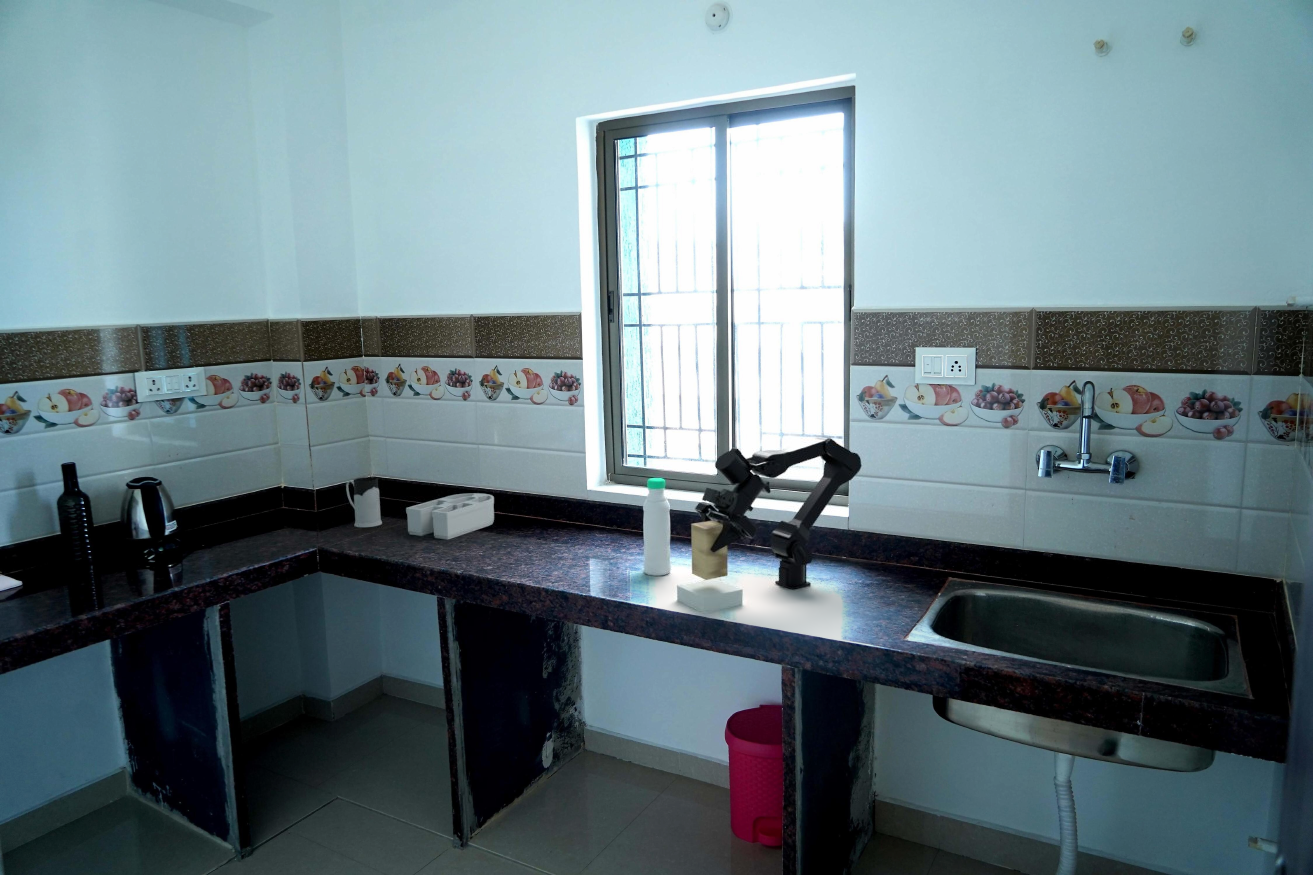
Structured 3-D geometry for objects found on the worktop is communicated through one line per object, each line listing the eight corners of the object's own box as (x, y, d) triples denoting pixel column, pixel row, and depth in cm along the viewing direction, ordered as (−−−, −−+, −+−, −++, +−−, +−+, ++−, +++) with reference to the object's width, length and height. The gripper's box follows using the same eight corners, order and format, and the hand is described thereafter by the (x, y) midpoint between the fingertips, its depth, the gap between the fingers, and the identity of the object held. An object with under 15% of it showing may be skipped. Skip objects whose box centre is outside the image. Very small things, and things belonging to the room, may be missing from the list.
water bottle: (672, 575, 228) (672, 480, 225) (646, 577, 227) (644, 482, 224) (668, 567, 235) (667, 476, 232) (642, 569, 234) (640, 477, 231)
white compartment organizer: (406, 535, 275) (405, 508, 274) (465, 516, 300) (464, 491, 298) (448, 540, 267) (446, 513, 266) (505, 521, 292) (504, 495, 291)
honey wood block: (713, 569, 210) (712, 520, 209) (727, 575, 205) (727, 525, 203) (691, 573, 207) (691, 523, 206) (705, 579, 202) (705, 529, 200)
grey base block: (714, 593, 215) (714, 577, 214) (742, 605, 205) (742, 589, 205) (677, 601, 209) (677, 585, 208) (703, 614, 200) (703, 597, 199)
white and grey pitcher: (366, 528, 283) (363, 482, 281) (337, 523, 291) (335, 478, 289) (387, 522, 290) (385, 478, 288) (359, 517, 298) (357, 474, 296)
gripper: (701, 469, 213) (662, 519, 209) (746, 481, 197) (705, 536, 193) (728, 497, 218) (691, 546, 214) (774, 511, 202) (735, 565, 198)
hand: (704, 548), depth 205 cm, fingers closed on honey wood block, 6 cm apart
